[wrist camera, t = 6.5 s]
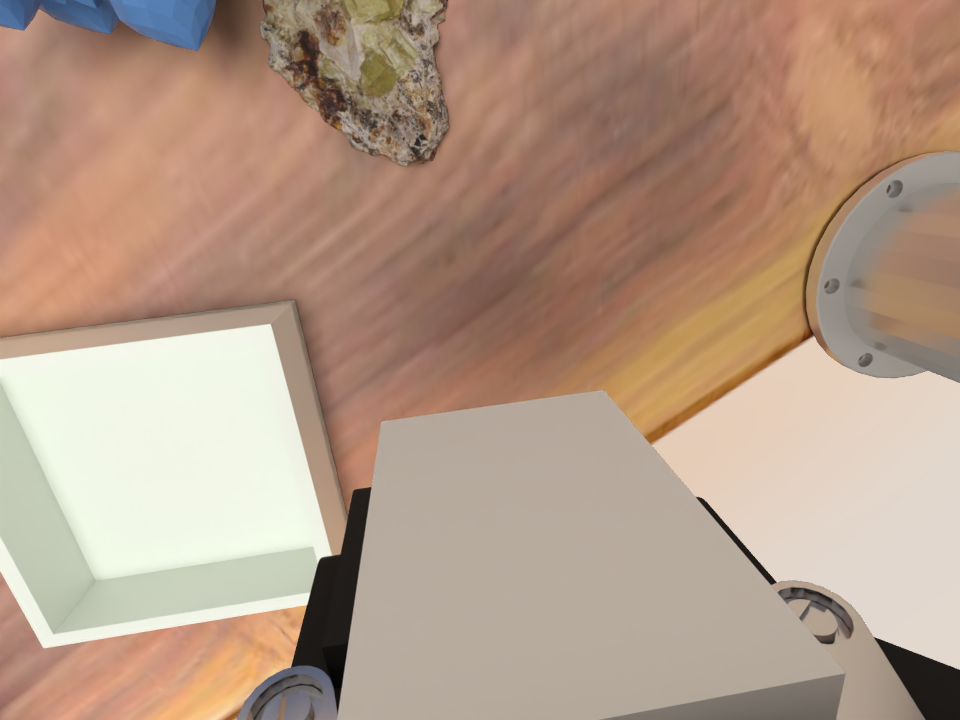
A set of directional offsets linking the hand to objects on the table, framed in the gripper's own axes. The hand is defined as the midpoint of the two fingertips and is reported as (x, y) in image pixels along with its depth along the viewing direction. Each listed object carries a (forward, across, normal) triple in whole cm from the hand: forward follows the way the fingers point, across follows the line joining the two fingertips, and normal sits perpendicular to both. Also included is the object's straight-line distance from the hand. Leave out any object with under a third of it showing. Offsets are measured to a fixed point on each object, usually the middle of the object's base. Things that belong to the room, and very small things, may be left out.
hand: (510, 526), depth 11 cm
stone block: (+1, 0, 0) cm, 1 cm away
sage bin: (+18, +16, +6) cm, 24 cm away
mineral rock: (+18, +2, -13) cm, 22 cm away
